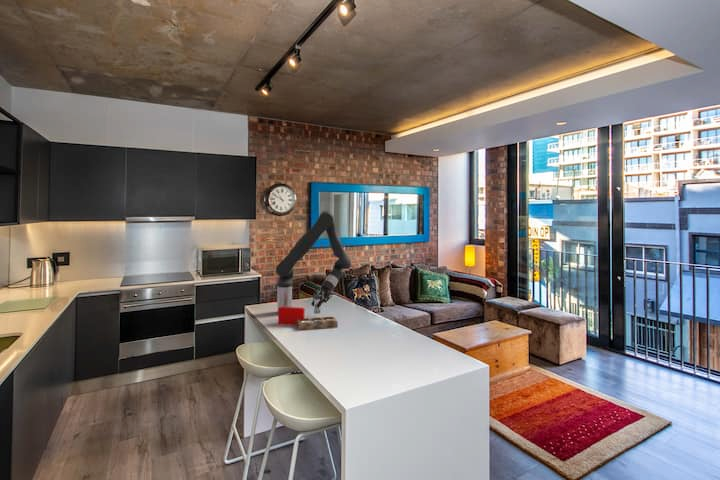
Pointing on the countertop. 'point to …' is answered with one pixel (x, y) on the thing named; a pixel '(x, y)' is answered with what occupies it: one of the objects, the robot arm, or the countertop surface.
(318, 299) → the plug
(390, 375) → the countertop surface
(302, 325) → the socket bar
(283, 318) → the play button
